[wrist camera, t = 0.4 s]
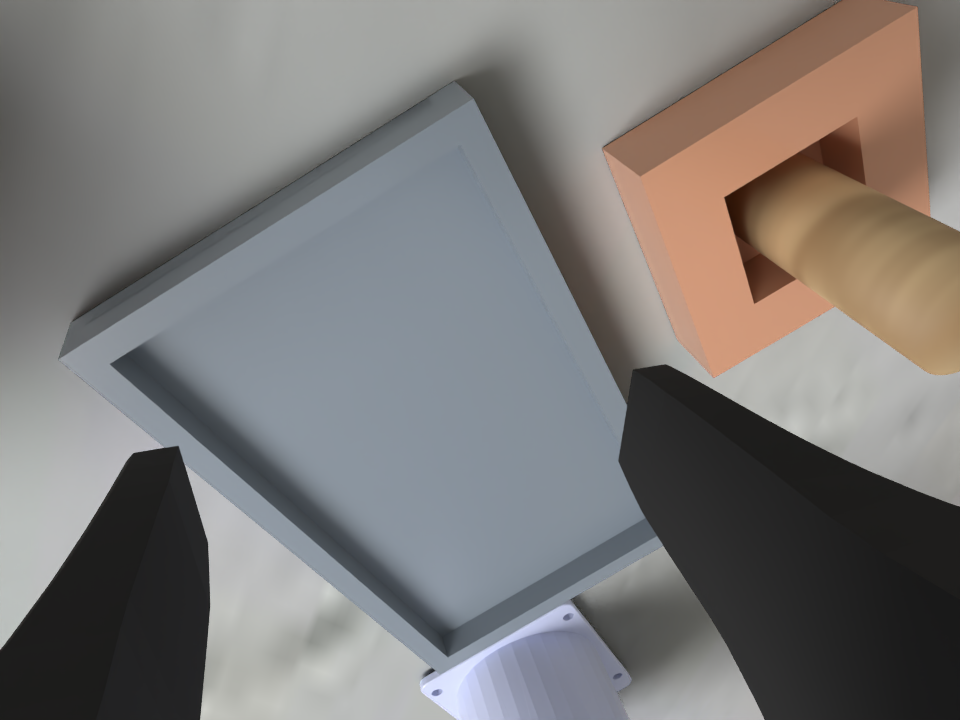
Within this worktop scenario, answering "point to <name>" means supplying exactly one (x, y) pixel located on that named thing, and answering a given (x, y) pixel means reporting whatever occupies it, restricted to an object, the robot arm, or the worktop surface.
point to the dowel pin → (859, 255)
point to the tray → (389, 385)
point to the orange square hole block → (770, 167)
